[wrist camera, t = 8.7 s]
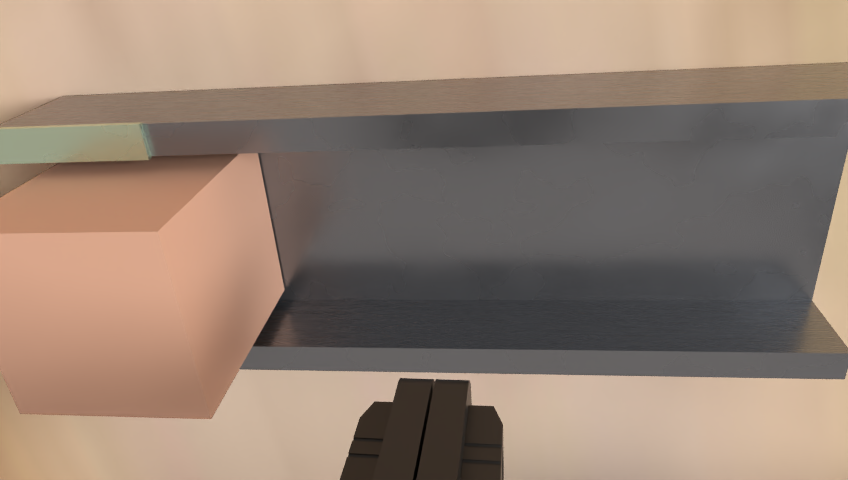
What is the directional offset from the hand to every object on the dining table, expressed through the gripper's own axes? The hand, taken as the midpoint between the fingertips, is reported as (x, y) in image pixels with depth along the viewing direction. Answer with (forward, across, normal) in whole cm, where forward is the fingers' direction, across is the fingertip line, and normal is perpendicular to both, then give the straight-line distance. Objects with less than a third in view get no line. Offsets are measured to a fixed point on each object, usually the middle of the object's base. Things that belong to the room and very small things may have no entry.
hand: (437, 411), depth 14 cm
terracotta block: (+10, +10, 0) cm, 14 cm away
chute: (+11, +1, 0) cm, 11 cm away
